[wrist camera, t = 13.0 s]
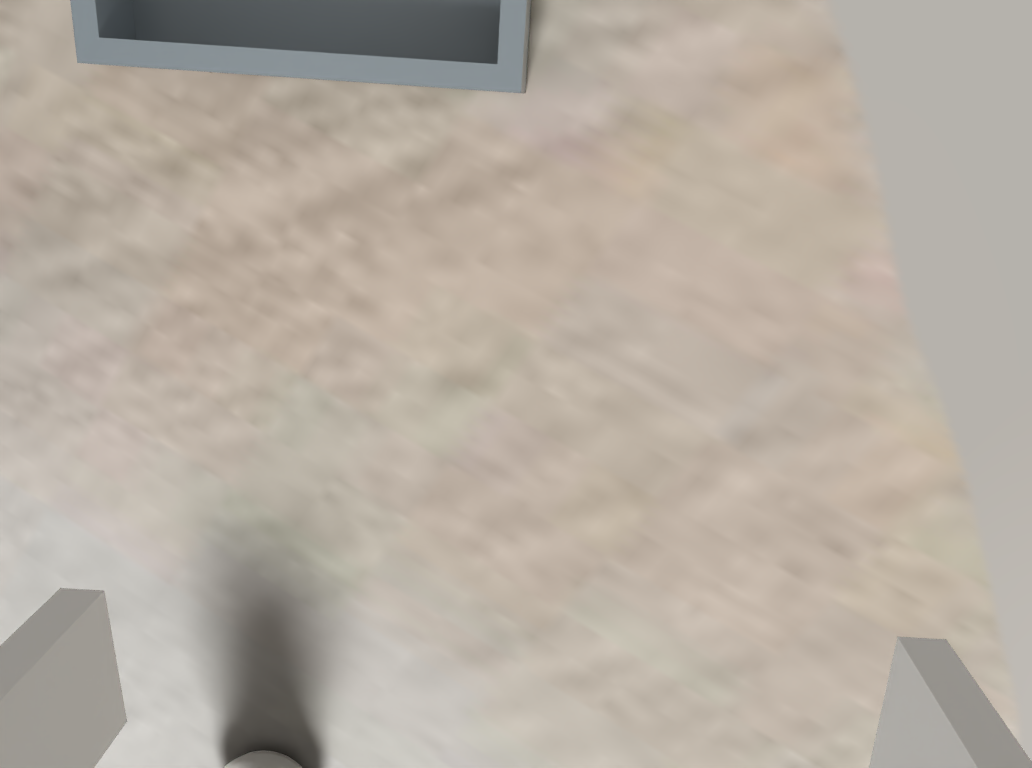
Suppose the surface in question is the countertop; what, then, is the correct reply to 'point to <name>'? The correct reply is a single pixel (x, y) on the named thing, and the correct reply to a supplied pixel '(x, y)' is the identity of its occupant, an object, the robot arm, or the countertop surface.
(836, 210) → the countertop surface
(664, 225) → the countertop surface
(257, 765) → the plastic bottle
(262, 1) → the bin
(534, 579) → the countertop surface
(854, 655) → the countertop surface
